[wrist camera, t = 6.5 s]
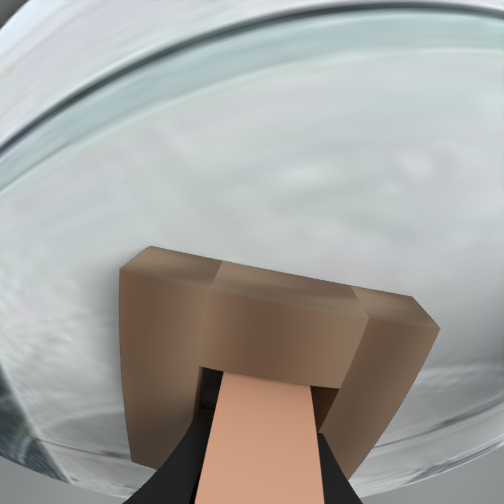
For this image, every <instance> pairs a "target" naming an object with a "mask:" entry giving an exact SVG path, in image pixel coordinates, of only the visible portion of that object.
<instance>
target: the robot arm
mask: <svg viewBox="0 0 504 504" xmlns="http://www.w3.org/2000/svg"><path fill="white" fill-rule="evenodd" d="M212 423H213V418H210V417H205V416H201V415H196V416H194V418H193V420H192V423H191V424H190V426H189V428H188V430H187V432H186V433H185V435H184V436H183V438H182V439H181V441H180V442H179V444H178V445H177V447H176V448H175V449H174V451H173V452H172V453H171V455H170V456H169V457H168V459H167V460H166V461H165V462H164V464H163V465H162V466H161V467H160V468H159V469H158V470H157V471H156V472H155V474H154V475H153V476H152V477H151V478H150V479H149V480H148V481H147V482H146V483H145V484H144V485H143V486H142V487H141V488H140V489H139V490H138V491H137V492H136V493H134V494H133V495H132V496H131V497H130V498H129V499H128V500H126V501H125V502H124V503H123V504H195V500H196V495H197V491H198V486H199V481H200V477H201V472H202V468H203V463H204V459H205V454H206V450H207V445H208V441H209V436H210V432H211V427H212ZM316 434H317V442H318V450H319V459H320V468H321V477H322V486H323V496H324V504H363V503H362V502H361V500H360V499H359V497H358V496H357V494H356V493H355V491H354V490H353V488H352V487H351V485H350V483H349V482H348V480H347V478H346V477H345V475H344V473H343V472H342V470H341V468H340V466H339V464H338V462H337V460H336V459H335V457H334V455H333V453H332V451H331V449H330V447H329V445H328V443H327V440H326V438H325V436H324V435H323V433H316Z"/></svg>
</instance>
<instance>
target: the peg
mask: <svg viewBox="0 0 504 504" xmlns="http://www.w3.org/2000/svg"><path fill="white" fill-rule="evenodd" d="M195 504H324V496H323V486H322V477H321V468H320V459H319V450H318V442H317V434H316V426H315V418H314V411H313V403H312V396H311V389H310V385H303V384H296V383H288V382H282V381H275V380H269V379H262V378H257V377H251V376H245V375H240V374H235V373H230V372H225V371H224V374H223V378H222V382H221V387H220V391H219V396H218V400H217V405H216V409H215V414H214V418H213V423H212V427H211V432H210V436H209V441H208V445H207V450H206V454H205V459H204V463H203V468H202V472H201V477H200V481H199V486H198V491H197V495H196V500H195Z"/></svg>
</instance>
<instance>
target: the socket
mask: <svg viewBox="0 0 504 504" xmlns="http://www.w3.org/2000/svg"><path fill="white" fill-rule="evenodd" d="M439 330H440V327H439V326H438V325H437V324H436V323H435V321H434V320H433V319H432V318H431V317H430V316H429V315H428V314H427V312H426V311H425V310H424V309H423V308H422V307H421V306H420V305H419V304H418V302H417V301H416V300H415V299H414V298H413V297H411V296H405V295H400V294H394V293H388V292H383V291H378V290H372V289H367V288H361V287H356V286H350V285H345V284H340V283H334V282H329V281H324V280H319V279H313V278H308V277H303V276H298V275H292V274H287V273H282V272H277V271H272V270H267V269H262V268H257V267H252V266H246V265H241V264H236V263H231V262H226V261H221V260H216V259H212V258H207V257H202V256H197V255H192V254H187V253H182V252H177V251H172V250H168V249H163V248H158V247H153V246H149V247H148V248H146V249H145V250H144V251H142V252H141V253H140V254H138V255H137V256H136V257H135V258H133V259H132V260H131V261H129V262H128V263H127V264H126V265H124V266H123V267H122V268H120V276H119V333H120V357H121V374H122V387H123V398H124V408H125V417H126V425H127V432H128V440H129V446H130V453H131V459H132V462H134V463H137V464H141V465H144V466H147V467H150V468H154V469H157V470H158V469H159V468H160V467H161V466H162V465H163V464H164V462H165V461H166V460H167V459H168V457H169V456H170V455H171V453H172V452H173V451H174V449H175V448H176V447H177V445H178V444H179V442H180V441H181V439H182V438H183V436H184V435H185V433H186V432H187V430H188V428H189V426H190V424H191V423H192V420H193V418H194V416H196V415H201V416H205V417H210V418H214V414H215V411H212V410H208V409H203V408H201V402H202V395H203V387H204V380H205V373H206V368H210V369H215V370H220V371H225V372H230V373H235V374H240V375H245V376H251V377H257V378H262V379H269V380H275V381H282V382H288V383H296V384H303V385H311V386H314V388H313V390H312V393H311V396H312V403H313V411H314V418H315V426H316V433H323V435H324V436H325V438H326V440H327V443H328V445H329V447H330V449H331V451H332V453H333V455H334V457H335V459H336V460H337V462H338V464H339V466H340V468H341V470H342V472H343V473H344V475H345V477H346V478H347V480H349V478H350V477H351V476H352V475H353V473H354V472H355V471H356V469H357V468H358V467H359V466H360V464H361V463H362V462H363V460H364V459H365V458H366V456H367V455H368V453H369V452H370V451H371V449H372V448H373V446H374V445H375V444H376V442H377V441H378V439H379V438H380V436H381V435H382V433H383V432H384V430H385V429H386V427H387V426H388V424H389V423H390V421H391V420H392V418H393V416H394V415H395V413H396V412H397V410H398V408H399V407H400V405H401V403H402V402H403V400H404V398H405V397H406V395H407V393H408V391H409V390H410V388H411V386H412V384H413V383H414V381H415V379H416V377H417V375H418V373H419V371H420V369H421V368H422V366H423V364H424V362H425V360H426V358H427V356H428V354H429V352H430V350H431V348H432V345H433V343H434V341H435V339H436V337H437V335H438V333H439Z"/></svg>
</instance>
